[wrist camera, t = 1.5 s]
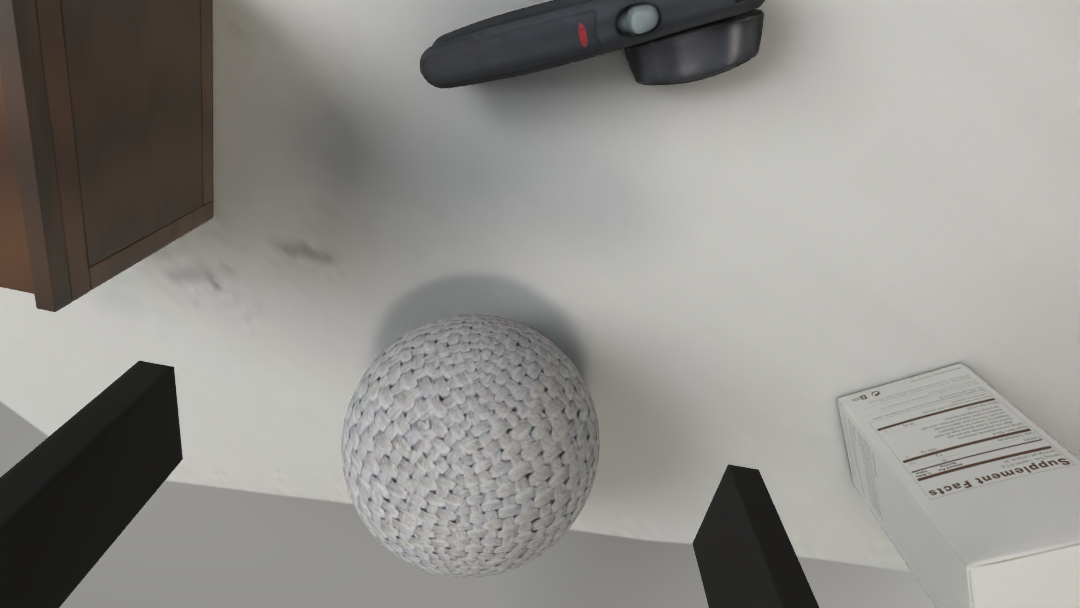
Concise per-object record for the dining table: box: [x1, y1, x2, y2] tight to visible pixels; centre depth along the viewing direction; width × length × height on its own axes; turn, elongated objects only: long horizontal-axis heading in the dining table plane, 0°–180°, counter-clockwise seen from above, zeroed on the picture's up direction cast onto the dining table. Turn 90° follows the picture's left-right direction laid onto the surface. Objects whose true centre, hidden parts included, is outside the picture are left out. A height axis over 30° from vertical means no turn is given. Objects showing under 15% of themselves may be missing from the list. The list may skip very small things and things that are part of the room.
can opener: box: [420, 0, 765, 88], centre depth 30 cm, size 18×7×6 cm, turn 100°
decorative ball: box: [342, 315, 600, 577], centre depth 35 cm, size 15×15×15 cm
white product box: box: [838, 363, 1080, 608], centre depth 37 cm, size 9×9×15 cm
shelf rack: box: [0, 0, 213, 312], centre depth 28 cm, size 14×12×13 cm
